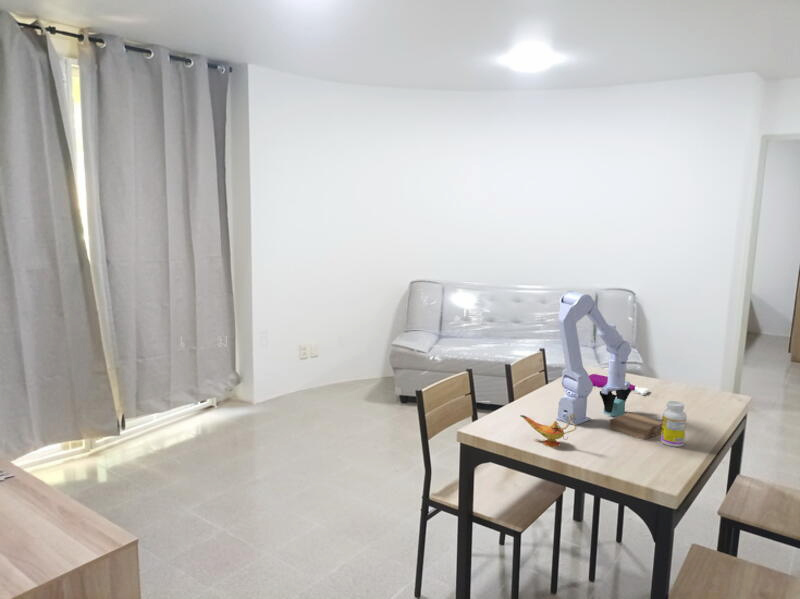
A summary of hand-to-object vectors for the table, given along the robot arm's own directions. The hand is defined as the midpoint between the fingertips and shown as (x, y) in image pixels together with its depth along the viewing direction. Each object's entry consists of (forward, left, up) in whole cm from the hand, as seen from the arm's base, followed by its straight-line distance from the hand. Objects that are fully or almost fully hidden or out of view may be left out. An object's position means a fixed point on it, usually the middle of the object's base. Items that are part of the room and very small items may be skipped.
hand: (614, 409), depth 201 cm
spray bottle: (+29, +17, -2) cm, 34 cm away
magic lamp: (-40, -2, -2) cm, 40 cm away
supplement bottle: (-9, -26, -2) cm, 27 cm away
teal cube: (0, 0, -2) cm, 2 cm away
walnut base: (-8, -13, -1) cm, 15 cm away
